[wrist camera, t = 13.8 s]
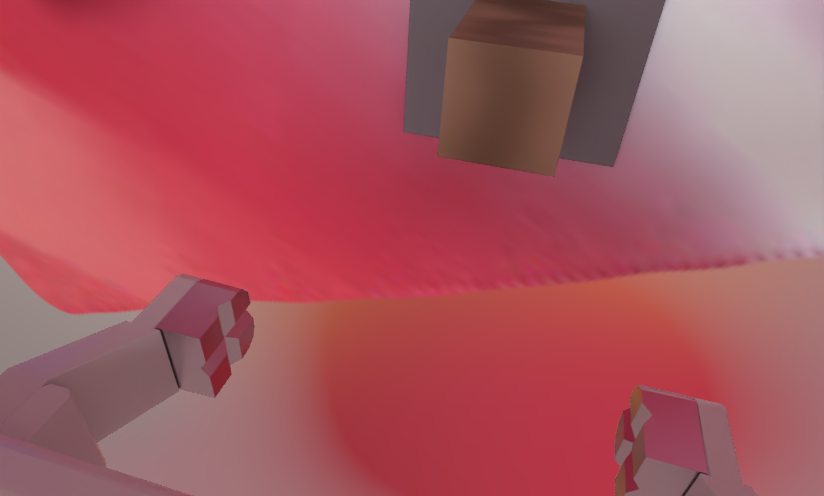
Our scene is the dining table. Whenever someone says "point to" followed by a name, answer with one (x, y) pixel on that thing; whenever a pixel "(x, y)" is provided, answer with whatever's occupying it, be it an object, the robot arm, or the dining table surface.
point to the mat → (597, 83)
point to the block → (511, 83)
